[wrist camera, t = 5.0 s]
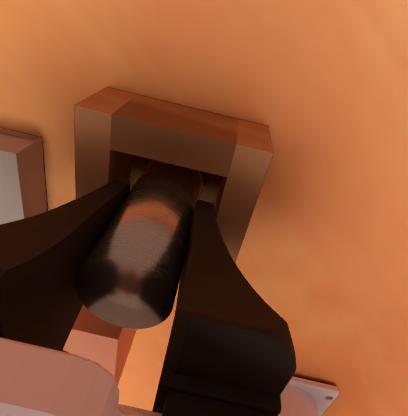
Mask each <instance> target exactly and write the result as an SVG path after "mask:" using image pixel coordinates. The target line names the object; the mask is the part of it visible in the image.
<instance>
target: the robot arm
mask: <svg viewBox="0 0 408 416" xmlns="http://www.w3.org/2000/svg"><path fill="white" fill-rule="evenodd" d="M129 190H130V183H125V182H121V181H117V180H114V181H112V182H110V183H108V184H106V185H104V186H102V187H100V188H98V189H96V190H94V191H92V192H90V193H88V194H86V195H84V196H82V197H80V198H78V199H76V200H74V201H71V202H69V203H67V204H64V205H62V206H60V207H57V208H55V209H52V210H50V211H47V212H44V213H41V214H38V215H35V216H32V217H28V218H25V219H21V220H17V221H13V222H9V223H5V224H1V225H0V416H321V415H322V414H323V413H324V412H325V411H326V409H327V408H328V407H329V406H330V405H331V404H332V402H333V401H334V400H335V399H336V398H337V397H338V395H339V391H338V388H337V387H335V386H333V385H328V384H324V383H320V382H315V381H311V380H307V379H302V378H298V377H294V376H293V375H294V372H295V370H296V357H295V350H294V346H293V342H292V338H291V335H290V331H289V328H288V325H287V322H286V321H285V320H284V319H283V318H281V317H280V316H279V315H278V314H277V313H276V312H275V311H274V310H273V309H272V308H271V307H270V306H269V305H268V304H267V303H266V302H265V301H264V300H263V299H262V298H261V297H260V296H259V295H258V294H257V293H256V291H255V290H254V289H253V288H252V287H251V285H250V284H249V283H248V281H247V280H246V279H245V277H244V276H243V275H242V273H241V272H240V270H239V269H238V267H237V265H236V264H235V262H234V260H233V259H232V257H231V255H230V253H229V251H228V249H227V247H226V244H225V242H224V240H223V237H222V235H221V232H220V229H219V226H218V223H217V220H216V216H215V211H214V206H213V204H212V203H210V202H205V201H201V200H197V201H196V204H195V208H194V212H193V217H192V221H191V227H190V234H189V241H188V247H187V252H186V256H185V260H184V264H183V268H182V272H181V276H180V283H179V291H178V298H177V306H176V311H175V317H174V321H173V326H172V330H171V334H170V338H169V343H168V347H167V351H166V355H165V360H164V364H163V368H162V372H161V377H160V381H159V385H158V390H157V394H156V398H155V402H154V407H153V411H148V410H143V409H139V408H134V407H130V406H126V405H121V404H118V398H119V389H118V387H117V384H116V381H115V378H114V377H113V375H112V374H111V373H110V372H109V371H107V370H106V369H105V368H104V367H102V366H101V365H100V364H99V363H97V362H94V361H92V360H89V359H86V358H84V357H81V356H79V355H75V354H70V353H66V352H62V351H63V348H64V346H65V343H66V341H67V339H68V337H69V334H70V332H71V330H72V328H73V325H74V323H75V321H76V319H77V317H78V315H79V312H80V310H81V308H82V306H83V303H82V302H81V300H80V299H79V297H78V295H77V292H76V286H75V283H76V277H77V275H78V273H79V271H80V270H81V268H82V266H83V265H84V263H85V262H86V260H87V259H88V257H89V255H90V254H91V252H92V251H93V249H94V248H95V246H96V244H97V243H98V241H99V240H100V238H101V237H102V235H103V234H104V232H105V230H106V229H107V227H108V226H109V224H110V223H111V221H112V219H113V218H114V216H115V215H116V213H117V212H118V210H119V208H120V207H121V205H122V204H123V202H124V201H125V199H126V198H127V196H128V194H129Z"/></svg>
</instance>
